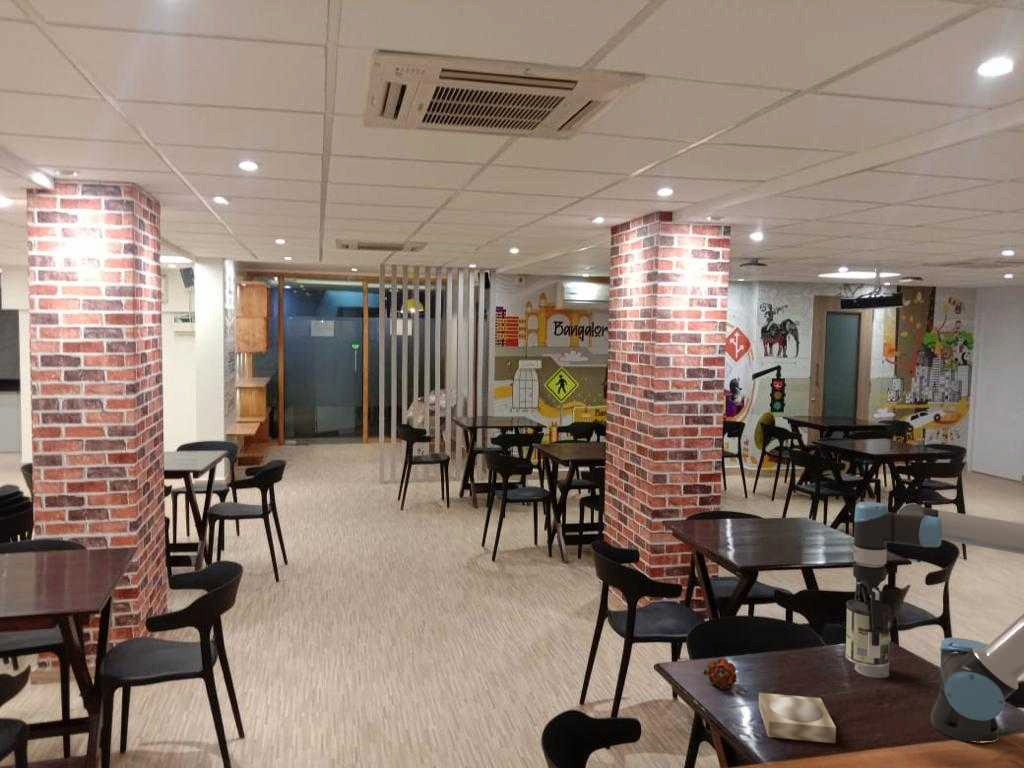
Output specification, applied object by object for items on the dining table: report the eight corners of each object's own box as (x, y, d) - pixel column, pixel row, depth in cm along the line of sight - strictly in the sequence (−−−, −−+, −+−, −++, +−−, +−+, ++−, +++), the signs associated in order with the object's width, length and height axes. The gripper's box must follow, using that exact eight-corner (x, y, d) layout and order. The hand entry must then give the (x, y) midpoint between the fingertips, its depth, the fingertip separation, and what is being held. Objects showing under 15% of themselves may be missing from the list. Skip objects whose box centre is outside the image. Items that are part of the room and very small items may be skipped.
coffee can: (882, 653, 193) (884, 600, 193) (894, 669, 183) (896, 613, 182) (840, 649, 195) (842, 597, 195) (850, 665, 185) (851, 610, 184)
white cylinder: (850, 663, 231) (851, 625, 231) (882, 665, 230) (883, 627, 230) (860, 676, 222) (861, 636, 221) (894, 679, 221) (895, 638, 220)
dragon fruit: (726, 701, 209) (711, 688, 221) (749, 682, 210) (733, 670, 222) (708, 676, 209) (694, 665, 221) (731, 657, 210) (716, 647, 222)
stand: (820, 712, 199) (820, 697, 199) (835, 743, 184) (835, 726, 183) (758, 707, 202) (759, 692, 202) (768, 736, 186) (768, 720, 186)
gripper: (842, 550, 200) (840, 631, 201) (867, 575, 178) (864, 665, 178) (871, 552, 199) (869, 633, 199) (900, 577, 176) (898, 668, 177)
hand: (867, 648), depth 189 cm, fingers closed on coffee can, 10 cm apart
